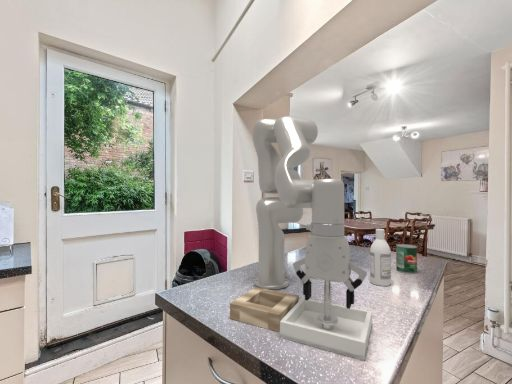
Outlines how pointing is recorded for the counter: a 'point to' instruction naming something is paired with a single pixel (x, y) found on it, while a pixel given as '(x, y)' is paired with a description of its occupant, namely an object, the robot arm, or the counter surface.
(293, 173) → the robot arm
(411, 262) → the canned tomato
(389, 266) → the bath foam
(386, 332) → the counter surface
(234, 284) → the counter surface
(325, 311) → the screw
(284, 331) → the tray
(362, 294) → the counter surface
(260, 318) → the holder
